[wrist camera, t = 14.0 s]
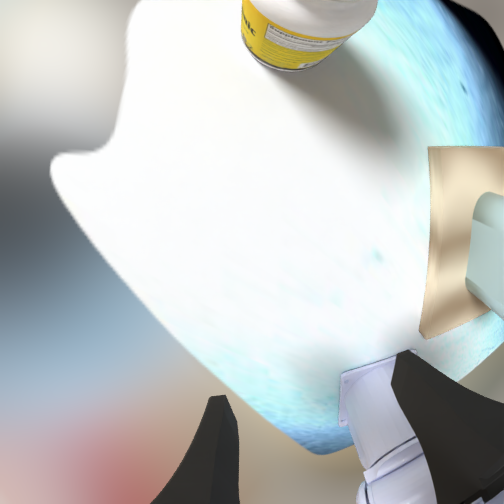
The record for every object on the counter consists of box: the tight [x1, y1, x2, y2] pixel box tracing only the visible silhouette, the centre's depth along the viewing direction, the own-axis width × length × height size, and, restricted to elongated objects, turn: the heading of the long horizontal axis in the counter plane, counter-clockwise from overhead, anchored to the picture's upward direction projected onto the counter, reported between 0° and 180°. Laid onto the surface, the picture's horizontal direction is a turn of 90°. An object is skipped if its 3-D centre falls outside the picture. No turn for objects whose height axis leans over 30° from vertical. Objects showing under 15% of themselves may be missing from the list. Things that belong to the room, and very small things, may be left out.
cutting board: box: [419, 146, 504, 340], centre depth 18 cm, size 16×11×2 cm
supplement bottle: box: [241, 0, 378, 72], centre depth 8 cm, size 5×5×10 cm
